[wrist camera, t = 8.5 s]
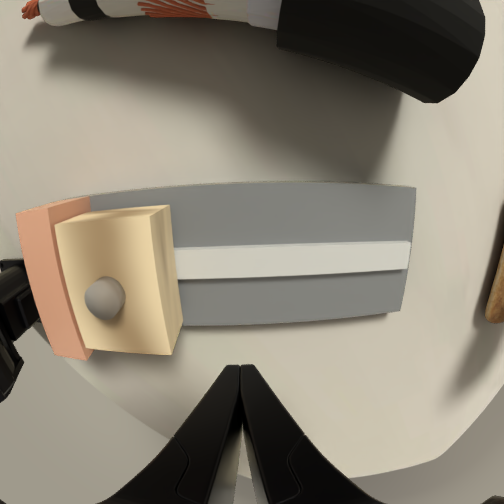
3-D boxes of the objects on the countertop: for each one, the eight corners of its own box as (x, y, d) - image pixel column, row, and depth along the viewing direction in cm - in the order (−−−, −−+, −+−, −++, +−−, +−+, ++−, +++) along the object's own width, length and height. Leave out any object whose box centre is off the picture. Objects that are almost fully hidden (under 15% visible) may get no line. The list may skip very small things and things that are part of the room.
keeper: (108, 318, 19) (78, 358, 14) (87, 212, 16) (41, 229, 11) (183, 320, 19) (167, 368, 14) (169, 204, 16) (141, 221, 11)
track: (90, 312, 21) (54, 354, 15) (68, 198, 18) (15, 213, 12) (392, 303, 22) (430, 343, 16) (405, 185, 19) (460, 197, 13)
